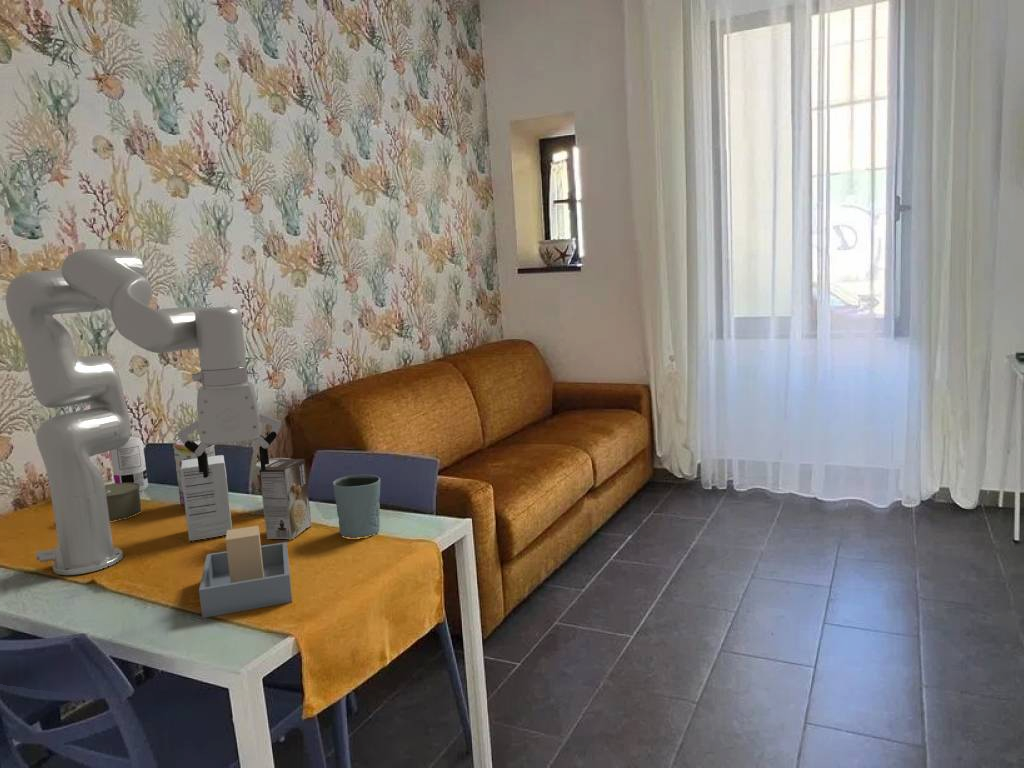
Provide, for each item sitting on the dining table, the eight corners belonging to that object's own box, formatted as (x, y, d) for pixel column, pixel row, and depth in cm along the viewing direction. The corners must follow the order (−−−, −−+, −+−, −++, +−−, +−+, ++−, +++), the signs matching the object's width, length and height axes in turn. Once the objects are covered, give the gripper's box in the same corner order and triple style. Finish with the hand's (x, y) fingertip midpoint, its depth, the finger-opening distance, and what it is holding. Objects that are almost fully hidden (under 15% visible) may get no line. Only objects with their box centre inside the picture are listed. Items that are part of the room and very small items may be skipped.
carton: (231, 593, 131) (225, 539, 129) (233, 581, 136) (227, 530, 134) (264, 587, 132) (258, 534, 131) (264, 576, 138) (258, 525, 136)
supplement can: (109, 494, 204) (102, 442, 201) (129, 486, 212) (122, 435, 210) (135, 494, 202) (128, 441, 200) (154, 486, 210) (148, 435, 208)
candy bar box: (179, 505, 190) (171, 444, 187) (196, 500, 194) (189, 439, 191) (205, 511, 184) (198, 447, 181) (223, 505, 188) (215, 443, 185)
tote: (202, 618, 124) (198, 590, 123) (209, 579, 140) (206, 554, 140) (292, 601, 128) (289, 574, 128) (289, 566, 145) (286, 541, 144)
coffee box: (286, 526, 169) (279, 458, 167) (312, 526, 168) (305, 458, 165) (265, 540, 160) (258, 469, 158) (292, 541, 159) (285, 469, 157)
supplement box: (233, 535, 165) (225, 462, 162) (188, 543, 161) (179, 468, 159) (231, 523, 173) (224, 453, 171) (189, 530, 170) (180, 459, 167)
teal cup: (328, 534, 162) (323, 482, 160) (366, 521, 169) (362, 471, 167) (355, 544, 155) (350, 489, 153) (393, 530, 162) (389, 478, 160)
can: (151, 512, 185) (147, 486, 184) (100, 526, 176) (96, 499, 175) (130, 505, 193) (127, 480, 192) (81, 518, 184) (77, 491, 183)
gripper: (168, 385, 122) (180, 484, 125) (276, 375, 128) (286, 471, 130) (173, 379, 129) (185, 473, 132) (276, 371, 135) (285, 461, 137)
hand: (235, 472), depth 131 cm, fingers open, 9 cm apart
